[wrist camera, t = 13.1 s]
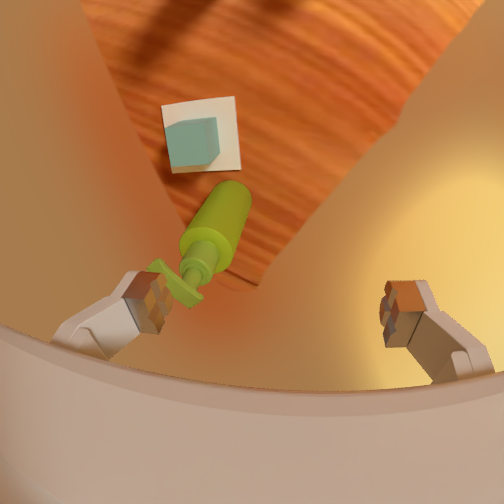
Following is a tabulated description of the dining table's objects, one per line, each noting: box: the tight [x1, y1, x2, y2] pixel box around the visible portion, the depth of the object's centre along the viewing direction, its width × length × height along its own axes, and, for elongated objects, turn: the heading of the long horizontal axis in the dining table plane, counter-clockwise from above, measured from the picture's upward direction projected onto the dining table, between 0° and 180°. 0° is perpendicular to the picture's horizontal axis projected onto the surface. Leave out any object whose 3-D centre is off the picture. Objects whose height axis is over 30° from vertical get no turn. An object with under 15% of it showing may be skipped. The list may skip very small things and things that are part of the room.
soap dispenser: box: [146, 180, 252, 309], centre depth 32 cm, size 6×7×20 cm
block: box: [165, 117, 220, 167], centre depth 33 cm, size 5×5×5 cm
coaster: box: [161, 96, 241, 173], centre depth 36 cm, size 10×10×1 cm
